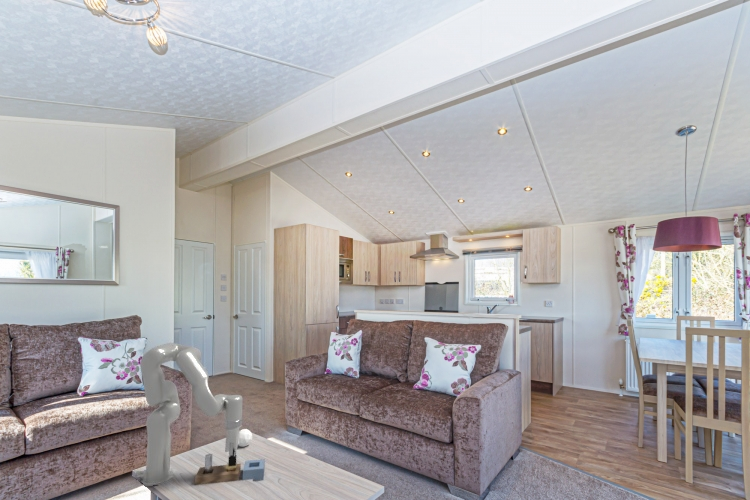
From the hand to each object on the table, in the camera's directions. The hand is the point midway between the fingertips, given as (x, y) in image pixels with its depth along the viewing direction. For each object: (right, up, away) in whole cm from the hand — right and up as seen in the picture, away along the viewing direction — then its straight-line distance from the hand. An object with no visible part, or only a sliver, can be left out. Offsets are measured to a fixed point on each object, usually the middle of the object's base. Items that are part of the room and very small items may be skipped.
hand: (232, 464), depth 178 cm
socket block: (-6, -6, -2) cm, 8 cm away
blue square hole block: (+9, -6, +2) cm, 11 cm away
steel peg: (-10, -5, -3) cm, 11 cm away
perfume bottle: (-8, -9, +34) cm, 37 cm away
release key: (0, -5, -1) cm, 5 cm away
